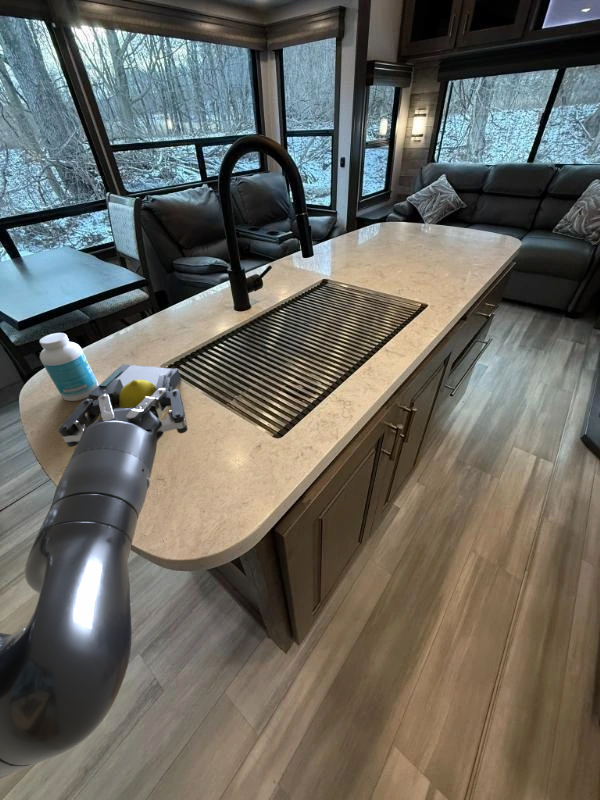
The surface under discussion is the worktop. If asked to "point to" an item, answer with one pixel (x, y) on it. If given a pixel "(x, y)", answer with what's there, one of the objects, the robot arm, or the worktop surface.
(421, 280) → the worktop surface
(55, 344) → the pill bottle
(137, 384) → the lemon
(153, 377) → the scale
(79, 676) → the robot arm
